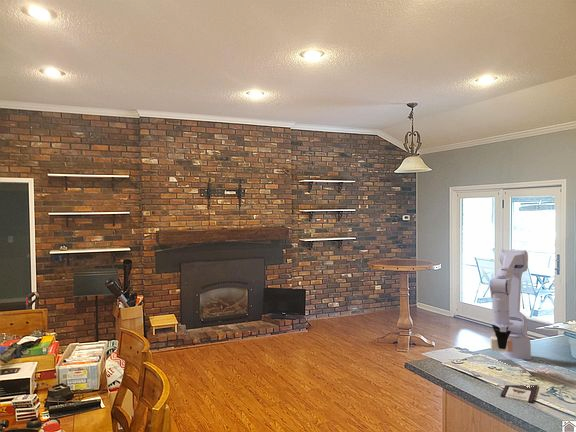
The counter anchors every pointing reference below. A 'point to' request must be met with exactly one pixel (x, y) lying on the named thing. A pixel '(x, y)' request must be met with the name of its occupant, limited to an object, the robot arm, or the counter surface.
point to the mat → (511, 367)
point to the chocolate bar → (520, 392)
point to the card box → (495, 346)
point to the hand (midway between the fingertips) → (501, 346)
